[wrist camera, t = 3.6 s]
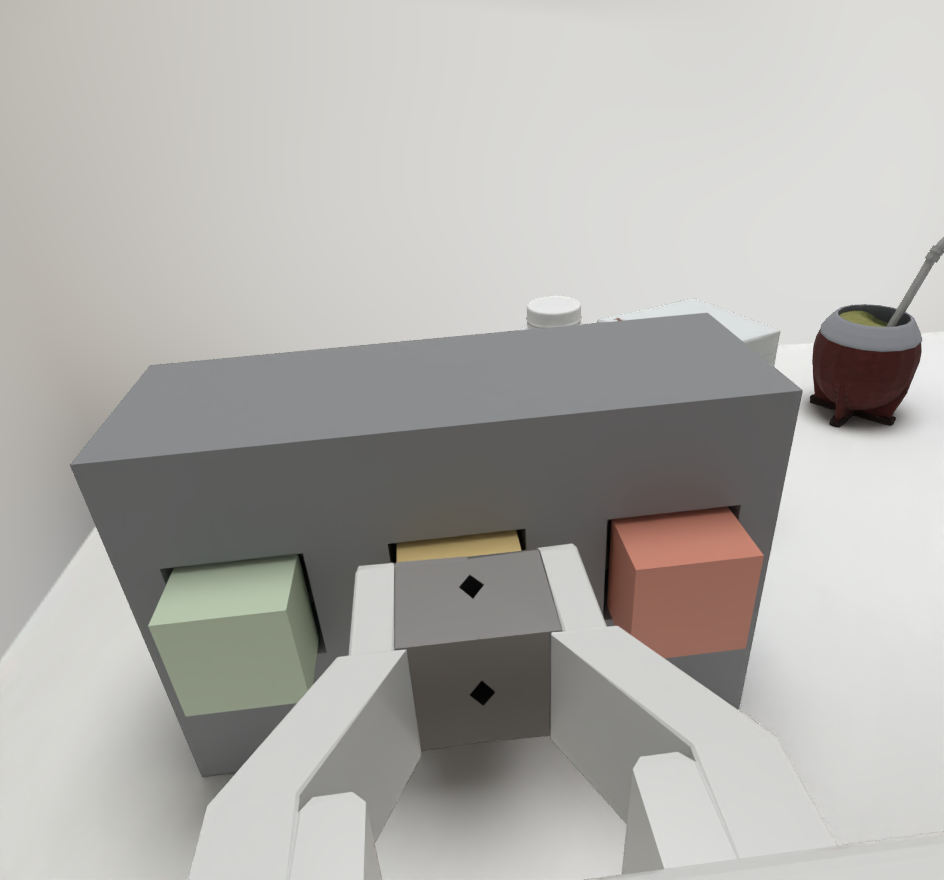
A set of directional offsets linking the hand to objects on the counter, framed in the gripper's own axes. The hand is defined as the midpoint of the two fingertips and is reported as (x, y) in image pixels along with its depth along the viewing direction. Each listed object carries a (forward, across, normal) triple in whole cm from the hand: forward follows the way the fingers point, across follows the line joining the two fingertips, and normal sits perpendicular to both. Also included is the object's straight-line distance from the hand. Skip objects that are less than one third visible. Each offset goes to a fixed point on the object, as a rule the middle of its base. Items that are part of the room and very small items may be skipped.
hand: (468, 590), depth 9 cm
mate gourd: (+38, -33, +20) cm, 54 cm away
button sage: (+11, +8, +13) cm, 19 cm away
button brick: (+11, -8, +13) cm, 19 cm away
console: (+16, 0, +20) cm, 26 cm away
